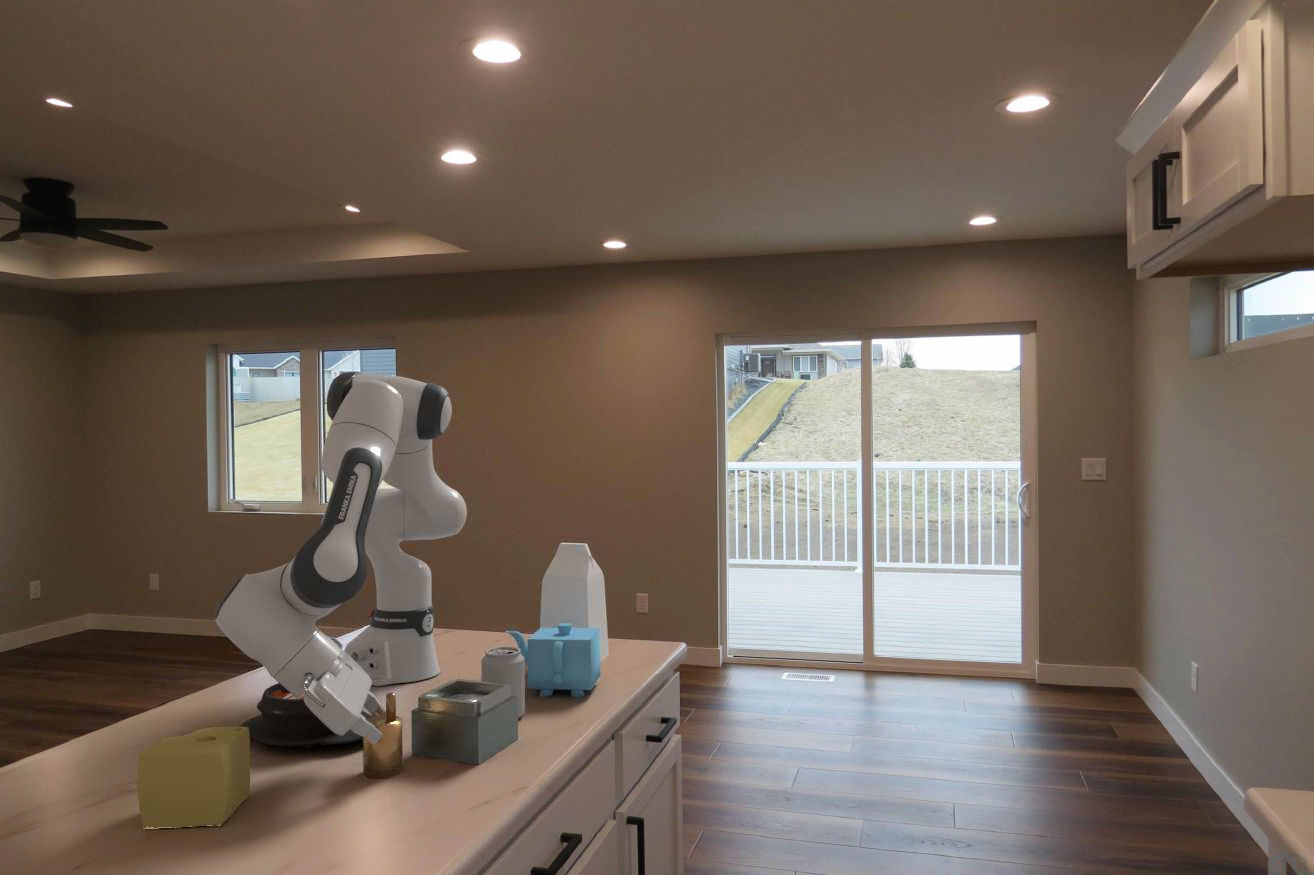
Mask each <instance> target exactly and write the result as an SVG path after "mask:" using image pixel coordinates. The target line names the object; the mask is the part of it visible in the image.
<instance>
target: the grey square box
mask: <svg viewBox="0 0 1314 875" xmlns="http://www.w3.org/2000/svg"><path fill="white" fill-rule="evenodd" d="M417 700H418V701H417V707H416V708H414V709H412V710H411V711H410V712H411V756H413V757H420V758H428V759H435V760H442V761H447V762H448V761H449V762H456V763H463V764H469V765H477V766H479V765H481V764H482V763H483V762H485V761H487V760H488V759H490V758H491V757H493V756H494V755H496V754H497V753H499V752H500V751H501V752H502V751H503V749H505V748H506V747H508V746H510V745H512V744H513V743H514V742H516V741H517V740H519V719H518V696H511V684H502V683H493V682H483V681H482V680H471V679H463V678H456V679H452V680H450V681H447V682H446V683H443V684H442V685H441V684H440V685H439V686H436V687H434V688H433V689H431V690H428V691H426V692H424V693H422V694H420V695H419V696H418V697H417Z"/></svg>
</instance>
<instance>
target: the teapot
mask: <svg viewBox="0 0 1314 875" xmlns="http://www.w3.org/2000/svg"><path fill="white" fill-rule="evenodd" d="M505 633H507V634H509V635H510V636H511V637H512V638H514V640H515V642H516V644H517V648H519V649H520V650H521V652H520V654H521V655H522V656H523V657H524V663H525V666H527V689H528V690H540V691H539V694H538V696H539V695H542V696H541V697H549V696H548V695H551V696H553V694H554V690H561V691H562V690H567V691H570V696H571V697H573V698H583V697H584V695H585V692H584V691H592V690H593V688H594V686H595V685H596V684H597V681H598V680H599V678H600V677H601V663H600V628H572V624H570V623H561V624H558V625H557V628H540V627H539V628H538V629H537V630H536V631H535V632H534V633H533V634H531V636H530V637H529V638H528V639H527V642H526V640H525V637H524V635H523V634H522V633H521V632H520V631H517V630H505ZM585 696H586V695H585Z"/></svg>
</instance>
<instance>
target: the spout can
mask: <svg viewBox="0 0 1314 875" xmlns="http://www.w3.org/2000/svg"><path fill="white" fill-rule="evenodd" d="M396 695H397V693H396V692H387V693H386V694H385V709H386V715H385V716H377V717H373V718H369V719H367V721H368V722H369V723H371V724H372V725H376V726H377V727H378V728H379V729H381V730H382V732H383V733H382V737H381V739H380V740H379V741H378V742H377V743H375V744H372V743H371V742H370V741H369V740H367V739H366V738H365V737H363V739H362V775H363V777H364V778H366V779H370V780H386V779H391V778H393V777H397V776H399V775H400V774H401V773H402V772H403V769H404V768H403V767H404V765H403V763H404V762H403V757H404V755H403V718H402V717H401V716H398V715H397V706H396V705H397V703H396V701H397V699H396V698H397V696H396Z"/></svg>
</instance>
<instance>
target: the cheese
mask: <svg viewBox="0 0 1314 875" xmlns="http://www.w3.org/2000/svg"><path fill="white" fill-rule="evenodd" d="M250 738H251V736H250V735H249V728H248V727H239V726H212V727H210V726H209V727H203V728H199V729H197V730H195V731H193V732H190V733H187V734H182V735H176V736H175V735H174V736H167V737H164V738H163V739H161V740H159V741H158V742H155V743H153V744H151V745H150V746H148V747H146V748H145V749H143V751H142V752H141V753H140V754H139V757H138V758H139V760H138V768H137V781H136V782H137V783H136V784H137V798H138V799H137V800H138V807H139V813H140V818H141V823H142V829H143V828H146V827H149V828H150V827H154V828H158V827H172V828H173V827H174V829H178V828H177V827H189V826H207V825H222V824H223V823H224V822H225V821H226V820H227V819H228V818H229V817H230V818H231V817H232V815H233V814H234V813H235V812H236V810H237V809H238V808H239V807H240V806H241V805H242V804H243V803H244V802H245V801H246V800H245V799H248V798H249V796H250V787H251V786H250V785H251V754H250V753H251V739H250ZM244 800H245V801H244ZM243 801H244V802H243ZM242 802H243V803H242ZM241 803H242V804H241ZM240 804H241V805H240ZM239 805H240V806H239ZM237 807H238V808H237ZM233 812H234V813H233ZM230 818H229V819H230ZM229 819H228V820H229ZM228 820H227V821H228ZM227 821H226V822H227ZM226 822H225V823H226ZM225 823H224V824H225ZM224 824H223V825H224ZM223 825H222V826H223ZM175 827H176V828H175Z"/></svg>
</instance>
